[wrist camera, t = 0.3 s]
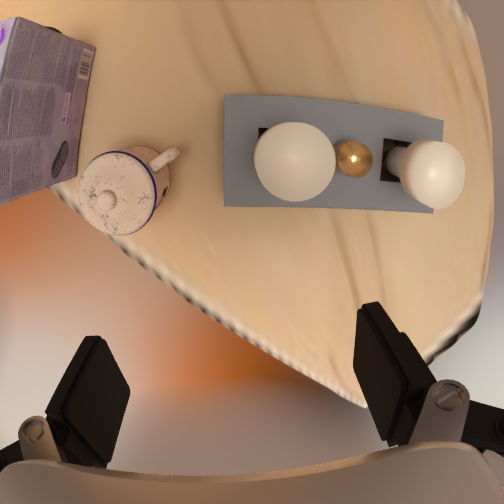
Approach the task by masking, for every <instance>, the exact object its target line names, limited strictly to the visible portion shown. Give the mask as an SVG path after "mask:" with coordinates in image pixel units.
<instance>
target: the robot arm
mask: <svg viewBox="0 0 504 504" xmlns="http://www.w3.org/2000/svg"><path fill="white" fill-rule="evenodd" d="M353 368H354V372H355V375H356V377H357V380H358V382H359V384H360V387H361V389H362V392H363V394H364V397H365V399H366V402H367V404H368V407H369V409H370V412H371V415H372V417H373V419H374V422H375V425H376V428H377V430H378V433H379V435H380V438H381V440H382V441H385V440H386V441H387V443H388V446H389V447H392V446H395V445H398V447H394V448H390V449H386V450H382V451H377V452H374V453H370V454H366V455H361V456H357V457H353V458H349V459H345V460H339V461H334V462H329V463H324V464H319V465H313V466H307V467H301V468H294V469H287V470H279V471H271V472H261V473H249V474H235V475H207V476H186V475H159V474H145V473H134V472H124V471H116V470H109V469H106V467H107V463H109V462H110V461H111V459H112V456H113V452H114V448H115V444H116V441H117V437H118V434H119V430H120V427H121V423H122V420H123V416H124V413H125V410H126V406H127V403H128V400H129V397H130V388H129V386H128V384H127V382H126V380H125V378H124V376H123V374H122V373H121V371H120V369H119V367H118V365H117V363H116V361H115V359H114V357H113V355H112V353H111V351H110V349H109V347H108V345H107V342H106V341H105V340H104V339H102V338H101V337H100V336H86V337H85V338H84V339H83V341H82V343H81V344H80V346H79V348H78V350H77V352H76V353H75V355H74V357H73V359H72V361H71V362H70V364H69V366H68V368H67V369H66V371H65V373H64V375H63V377H62V379H61V381H60V383H59V385H58V386H57V388H56V390H55V392H54V394H53V396H52V398H51V400H50V402H49V404H48V406H47V408H46V410H45V413H46V414H47V417H46V419H45V418H43V417H41V416H33V417H30V418H28V419H27V420H25V421H24V422H23V423H22V425H21V426H20V428H19V431H18V438H19V440H18V441H16V442H14V443H13V444H11V445H9V446H7V447H5V448H3V449H2V450H0V504H504V489H503V487H504V409H500V408H497V407H493V406H489V405H486V404H482V403H479V402H475V401H472V400H470V395H469V392H468V390H467V389H466V388H465V386H464V385H462V384H461V383H460V382H457V381H455V380H448V379H446V380H440V381H438V382H437V381H436V379H435V377H434V376H433V374H432V373H431V371H430V370H429V368H428V366H427V365H426V363H425V362H424V360H423V359H422V357H421V356H420V354H419V352H418V351H417V349H416V348H415V346H414V345H413V343H412V342H411V340H410V339H409V337H408V336H407V335H406V334H405V333H404V332H399V331H398V329H397V328H396V326H395V325H394V323H393V322H392V320H391V319H390V317H389V316H388V315H387V313H386V312H385V310H384V309H383V307H382V306H381V304H380V303H379V302H371V303H366V304H363V305H362V308H361V309H358V311H357V322H356V335H355V347H354V358H353Z"/></svg>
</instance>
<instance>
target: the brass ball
mask: <svg viewBox="0 0 504 504" xmlns="http://www.w3.org/2000/svg"><path fill="white" fill-rule="evenodd" d="M332 147H333V149H334V153H335V159H336V165H335V168H336V169H337V170H339V171H341V172H343V173H344V174H346V175H348V176H350V177H353V178H360V177H363V176H365V175H366V174H367V173H368V172H369V171H370V170H371V168H372V165H373V155H372V152H371V150H370V149H369V148H368V147H367V146H366V145H365V144H363V143H360V142H355V141H351V140H340V141H338V142H336V143H335V144H334V145H333V146H332Z"/></svg>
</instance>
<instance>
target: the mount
mask: <svg viewBox="0 0 504 504" xmlns="http://www.w3.org/2000/svg"><path fill="white" fill-rule="evenodd" d="M285 122H300V123H306V124H309V125H312V126H314V127H316V128H317V129H319V130H320V131H321V132H323V133H324V134H325V135H326V137H327V138H328V139H329V141H330V142H331V144H332V146H333V145H334V144H335V143H336V142H338V141H340V140H351V141H355V142H360V143H363V144H365V145H366V146H367V147H368V148H369V149H370V150H371V152H372V155H373V165H372V168H371V170H370V171H369V172H368V173H367V174H366V175H365V176H363V177H360V178H353V177H350V176H348V175H346V174H344V173H343V172H341V171H339V170H337V169H336V168H335V171H334V175H333V177H332V179H331V181H330V183H329V184H328V186H327V187H326V188H325V189H324V190H323V191H322V192H321V193H320V194H318V195H317V196H315V197H313V198H311V199H308V200H305V201H299V202H292V201H286V200H283V199H280V198H278V197H276V196H274V195H273V194H271V193H270V192H269V191H268V190H267V189H266V188H265V187H264V186H263V184H262V183H261V181H260V179H259V177H258V174H257V172H256V169H255V165H254V150H255V146H256V144H257V142H258V128H271V127H272V126H274V125H277V124H280V123H285ZM443 123H444V121H443V120H439V119H435V118H431V117H426V116H422V115H418V114H413V113H409V112H404V111H399V110H394V109H388V108H383V107H377V106H371V105H364V104H358V103H351V102H343V101H335V100H326V99H316V98H305V97H291V96H273V95H224V206H242V207H310V208H341V209H365V210H385V211H402V212H418V213H432V214H433V208H430V207H428V206H427V205H425V204H423V203H421V202H419V201H417V200H416V199H414V198H412V197H411V196H409V195H408V194H407V193H406V191H405V190H404V188H403V187H402V184H401V181H400V178H399V177H397V176H395V175H390V174H381V164H382V153H383V140H384V138H387V139H394V140H397V142H396V146H401V147H405V148H407V147H408V146H409V145H410V144H412V143H413V142H415V141H417V140H420V139H429V140H434V141H439V142H442V138H443Z"/></svg>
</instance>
